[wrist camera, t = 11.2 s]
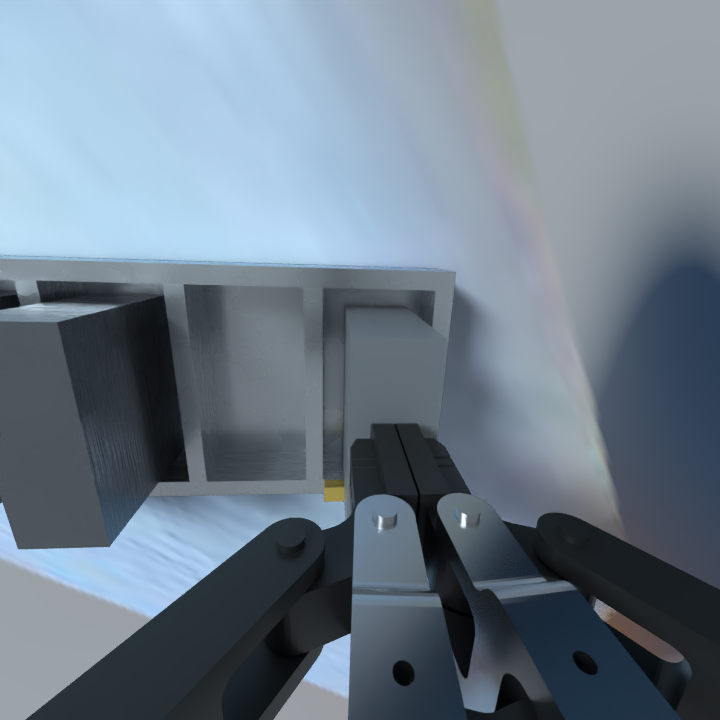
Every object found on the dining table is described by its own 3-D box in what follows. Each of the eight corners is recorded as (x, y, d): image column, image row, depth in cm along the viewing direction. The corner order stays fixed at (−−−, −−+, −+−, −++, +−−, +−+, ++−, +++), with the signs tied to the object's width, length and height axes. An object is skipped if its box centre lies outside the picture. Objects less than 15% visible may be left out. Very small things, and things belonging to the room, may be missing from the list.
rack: (4, 461, 19) (-199, 590, 12) (-62, 253, 16) (-399, 255, 9) (418, 457, 21) (462, 566, 14) (435, 268, 17) (506, 280, 10)
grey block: (345, 304, 17) (351, 338, 10) (404, 305, 17) (448, 339, 11) (342, 446, 20) (346, 547, 13) (395, 445, 20) (425, 545, 13)
